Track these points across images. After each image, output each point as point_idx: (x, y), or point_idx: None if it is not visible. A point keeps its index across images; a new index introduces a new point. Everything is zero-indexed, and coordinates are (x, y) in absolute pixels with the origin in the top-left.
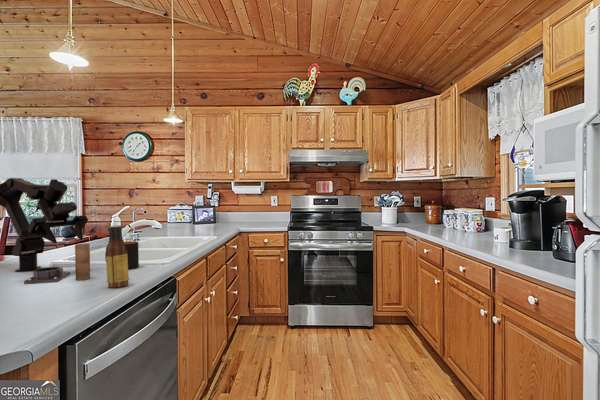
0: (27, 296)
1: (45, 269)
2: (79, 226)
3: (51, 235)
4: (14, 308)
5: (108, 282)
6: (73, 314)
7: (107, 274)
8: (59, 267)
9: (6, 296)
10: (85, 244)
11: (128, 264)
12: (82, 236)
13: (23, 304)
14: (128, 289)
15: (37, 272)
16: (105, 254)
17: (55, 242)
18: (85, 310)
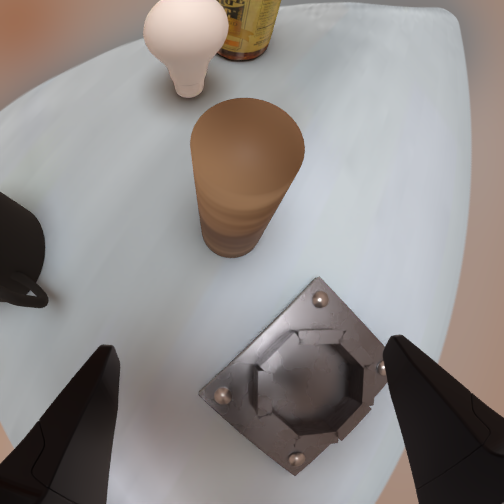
0: (435, 176)
1: (307, 432)
2: (29, 488)
3: (451, 381)
4: (460, 115)
5: (270, 38)
6: (393, 12)
7: (274, 22)
8: (267, 385)
9: (464, 232)
10: (245, 108)
11: (20, 205)
12: (92, 358)
13: (448, 122)
14: None
15: (374, 366)
16: (25, 301)
17: (393, 342)
18: (375, 7)
